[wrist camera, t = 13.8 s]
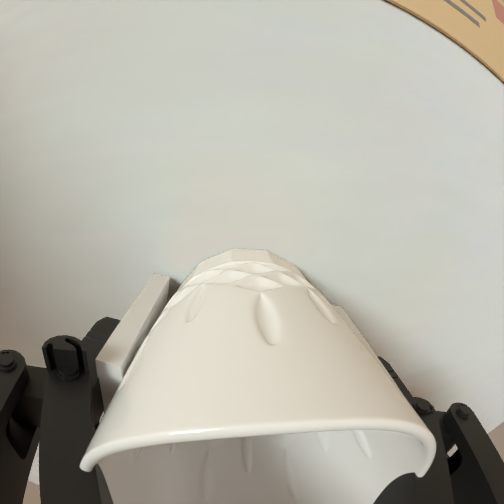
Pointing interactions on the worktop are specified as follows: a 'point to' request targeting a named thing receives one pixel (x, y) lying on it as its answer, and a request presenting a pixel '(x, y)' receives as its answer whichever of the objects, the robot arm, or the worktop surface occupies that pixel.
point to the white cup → (255, 399)
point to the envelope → (466, 26)
